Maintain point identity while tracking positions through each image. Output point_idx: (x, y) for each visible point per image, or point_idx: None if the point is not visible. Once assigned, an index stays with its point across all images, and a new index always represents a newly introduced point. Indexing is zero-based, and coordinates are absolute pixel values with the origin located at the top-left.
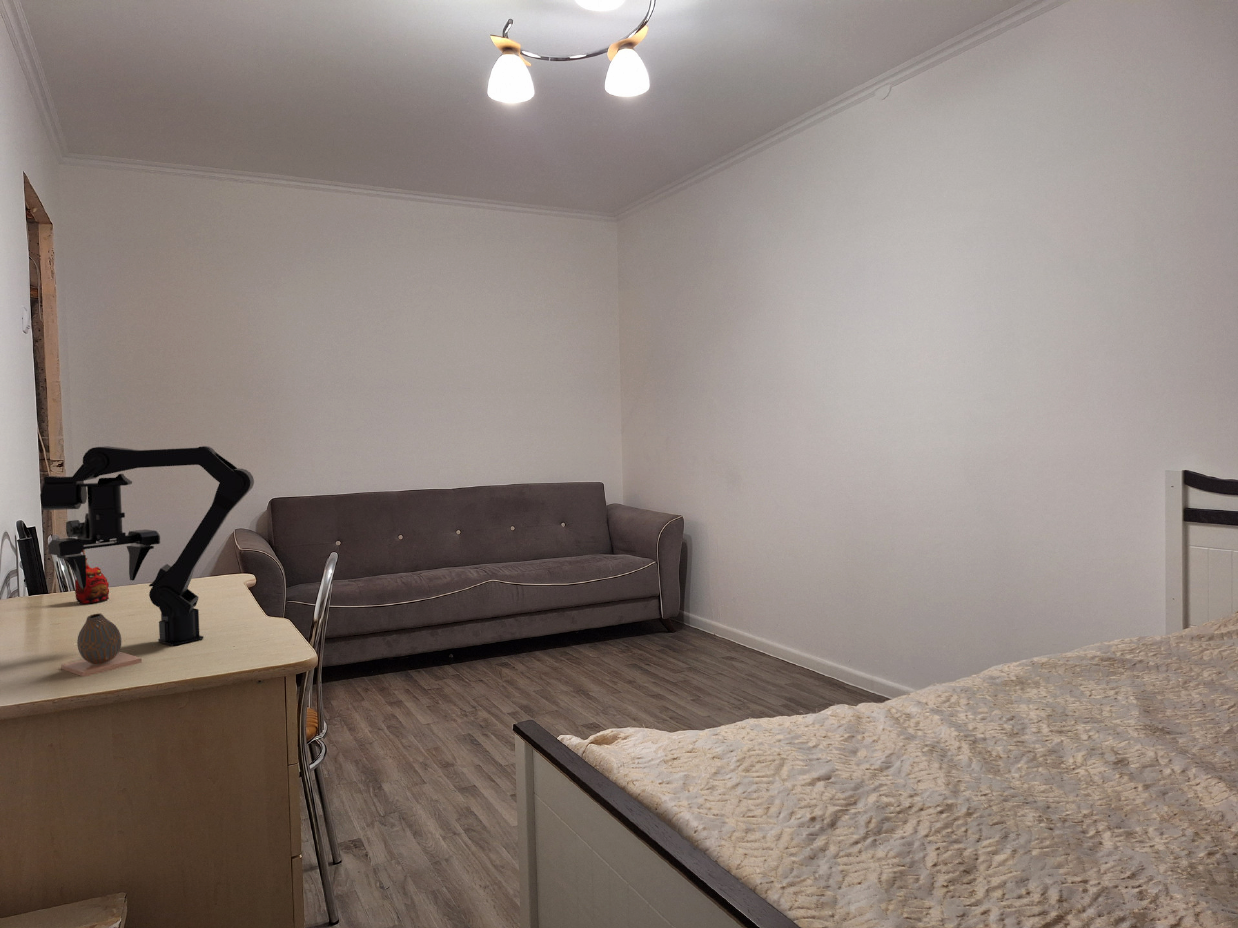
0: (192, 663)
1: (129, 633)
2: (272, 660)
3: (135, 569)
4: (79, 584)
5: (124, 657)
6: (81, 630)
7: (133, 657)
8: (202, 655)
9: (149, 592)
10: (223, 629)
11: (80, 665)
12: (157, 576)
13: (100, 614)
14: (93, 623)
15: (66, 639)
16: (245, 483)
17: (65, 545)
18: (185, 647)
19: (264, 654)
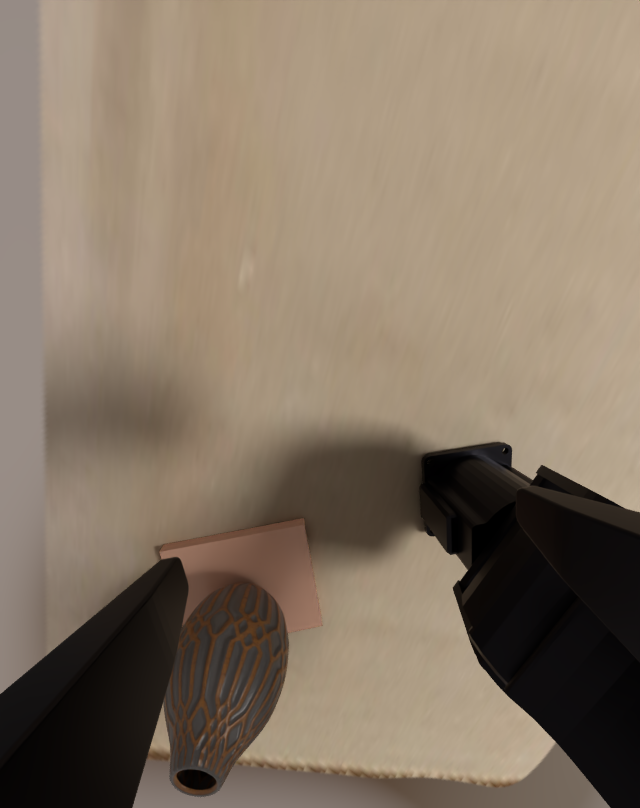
0: (390, 688)
1: (411, 263)
2: (491, 752)
3: (608, 623)
4: (141, 578)
5: (296, 593)
6: (165, 718)
7: (311, 608)
8: (430, 647)
9: (481, 650)
10: (588, 447)
11: (197, 594)
12: (586, 775)
13: (216, 783)
14: (192, 770)
15: (232, 160)
16: None
17: None
18: (439, 559)
19: (506, 712)
